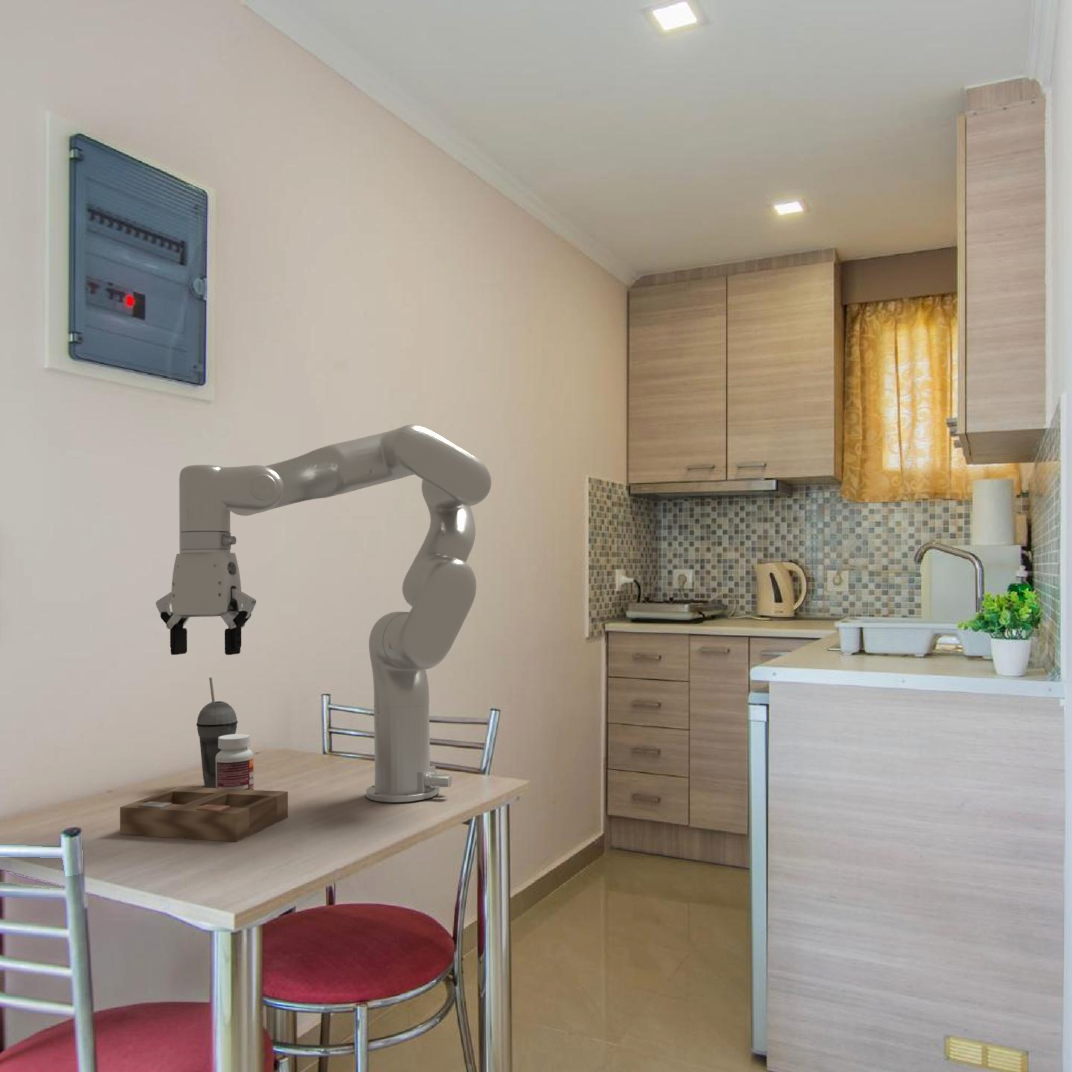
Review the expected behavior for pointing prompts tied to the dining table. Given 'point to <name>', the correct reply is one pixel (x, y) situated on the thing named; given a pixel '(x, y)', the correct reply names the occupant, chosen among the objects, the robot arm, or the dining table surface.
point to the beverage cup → (213, 734)
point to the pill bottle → (234, 763)
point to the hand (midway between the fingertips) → (205, 654)
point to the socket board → (204, 813)
